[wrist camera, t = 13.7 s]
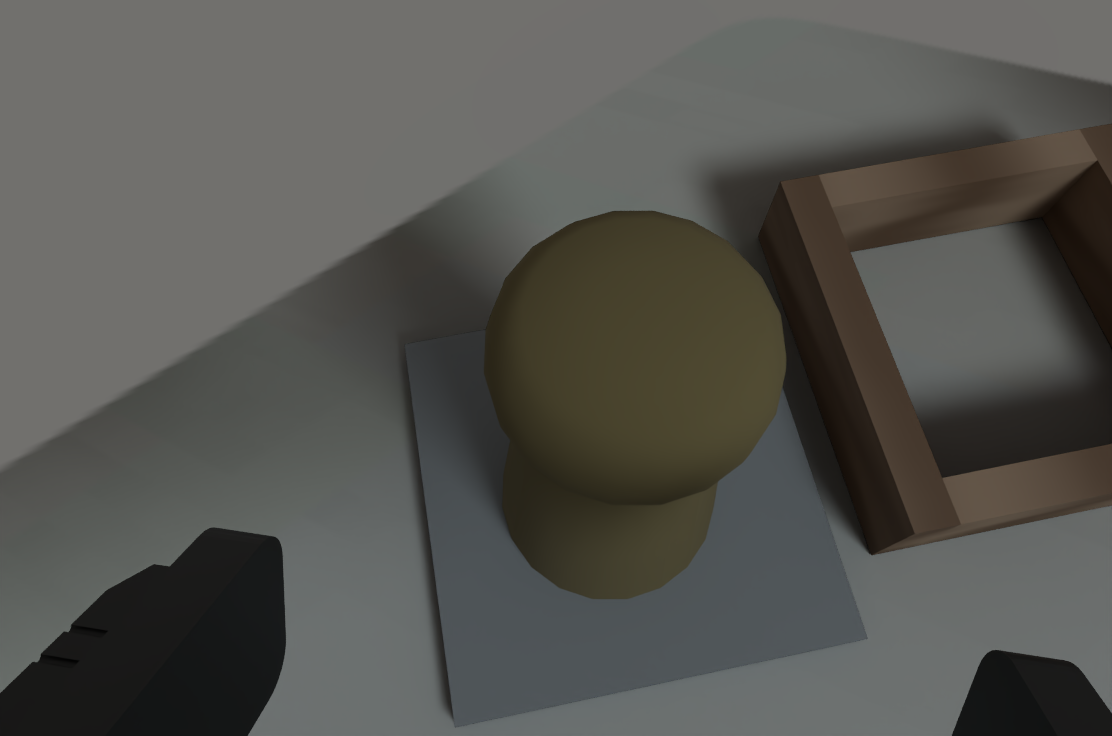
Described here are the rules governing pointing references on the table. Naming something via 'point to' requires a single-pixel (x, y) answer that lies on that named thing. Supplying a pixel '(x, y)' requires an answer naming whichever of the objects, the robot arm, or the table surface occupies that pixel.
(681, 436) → the cork
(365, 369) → the table surface
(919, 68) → the table surface
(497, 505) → the rubber mat
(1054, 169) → the walnut collar
